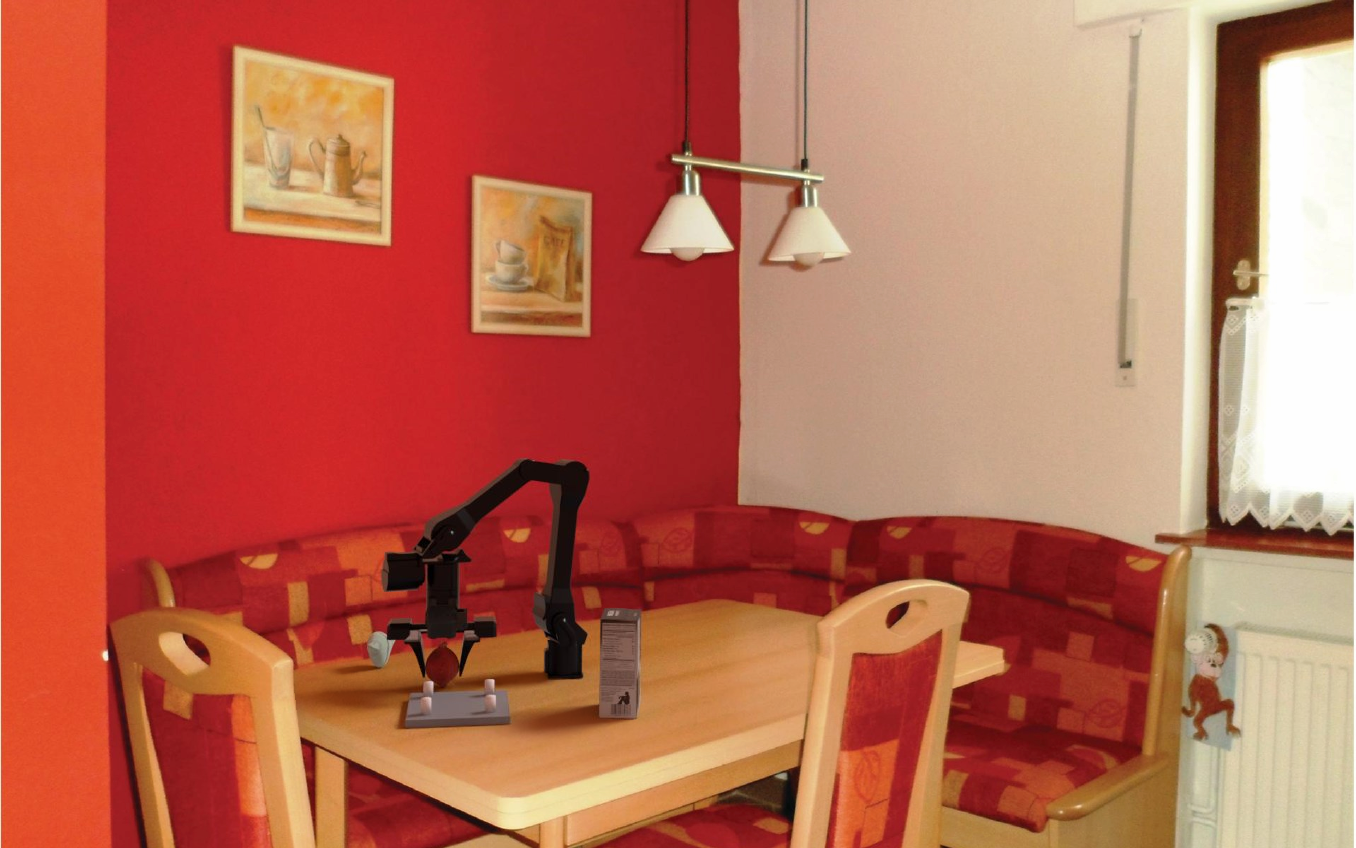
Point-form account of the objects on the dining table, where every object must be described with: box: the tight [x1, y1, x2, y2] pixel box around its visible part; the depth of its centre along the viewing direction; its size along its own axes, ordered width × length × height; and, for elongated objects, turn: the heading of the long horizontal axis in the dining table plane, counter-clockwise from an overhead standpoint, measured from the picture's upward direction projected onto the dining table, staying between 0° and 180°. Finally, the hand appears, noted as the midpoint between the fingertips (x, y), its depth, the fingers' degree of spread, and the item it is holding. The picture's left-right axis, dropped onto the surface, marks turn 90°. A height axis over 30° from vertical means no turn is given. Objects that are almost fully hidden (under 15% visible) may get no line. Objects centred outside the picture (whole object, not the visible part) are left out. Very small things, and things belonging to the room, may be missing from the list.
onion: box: [425, 641, 460, 688], centre depth 197 cm, size 6×6×8 cm
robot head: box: [366, 631, 397, 668], centre depth 211 cm, size 8×4×7 cm, turn 163°
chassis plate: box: [404, 678, 511, 729], centre depth 182 cm, size 16×16×4 cm
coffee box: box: [598, 607, 642, 720], centre depth 184 cm, size 9×6×16 cm
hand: (442, 676), depth 197 cm, fingers closed on onion, 6 cm apart
